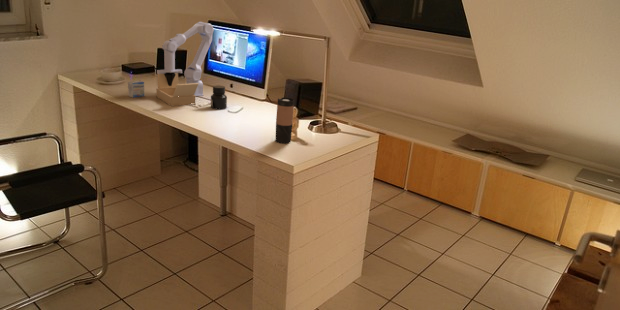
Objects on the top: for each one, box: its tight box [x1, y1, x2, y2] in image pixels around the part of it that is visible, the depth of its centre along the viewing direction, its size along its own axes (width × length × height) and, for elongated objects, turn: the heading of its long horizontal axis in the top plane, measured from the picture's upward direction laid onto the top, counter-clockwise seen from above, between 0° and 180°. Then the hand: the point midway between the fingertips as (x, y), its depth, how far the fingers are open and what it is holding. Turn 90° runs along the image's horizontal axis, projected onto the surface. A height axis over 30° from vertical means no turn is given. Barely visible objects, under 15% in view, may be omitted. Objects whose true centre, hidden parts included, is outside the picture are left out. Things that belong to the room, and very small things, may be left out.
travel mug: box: [275, 97, 295, 144], centre depth 222 cm, size 8×8×20 cm
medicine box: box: [127, 80, 145, 99], centre depth 278 cm, size 8×4×9 cm, turn 143°
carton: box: [156, 87, 196, 107], centre depth 278 cm, size 14×22×5 cm, turn 38°
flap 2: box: [173, 83, 199, 97], centre depth 265 cm, size 10×12×1 cm
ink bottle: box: [210, 84, 228, 110], centre depth 270 cm, size 10×9×12 cm
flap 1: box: [157, 73, 179, 89], centre depth 283 cm, size 10×12×1 cm
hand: (169, 85), depth 282 cm, fingers closed, pressing on flap 1
